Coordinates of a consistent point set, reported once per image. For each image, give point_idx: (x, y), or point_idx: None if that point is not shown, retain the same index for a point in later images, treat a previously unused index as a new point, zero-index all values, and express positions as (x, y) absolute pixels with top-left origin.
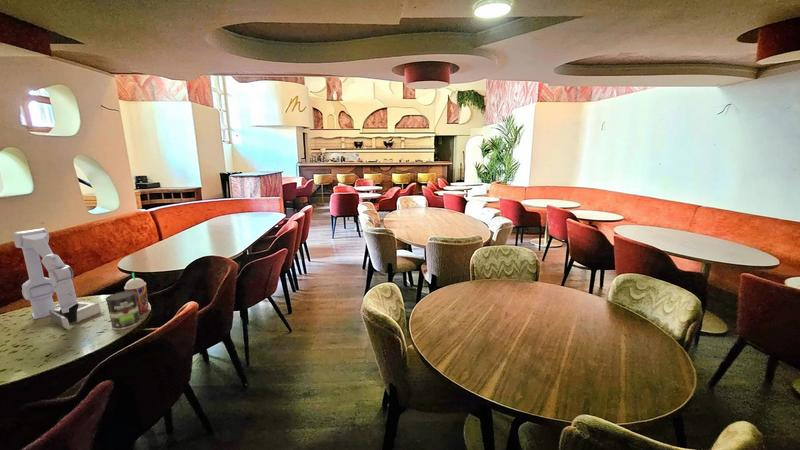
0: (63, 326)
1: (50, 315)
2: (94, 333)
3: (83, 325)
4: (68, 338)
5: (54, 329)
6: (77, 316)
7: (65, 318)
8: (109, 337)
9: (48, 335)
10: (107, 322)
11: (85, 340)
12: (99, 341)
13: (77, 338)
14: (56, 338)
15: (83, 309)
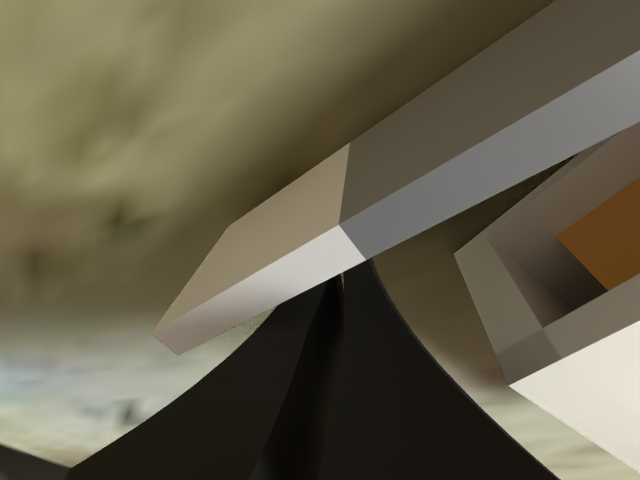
0: (334, 156)
1: None
2: (115, 393)
3: None
4: (47, 277)
5: (354, 14)
6: (482, 315)
7: (207, 326)
8: (55, 442)
9: (141, 26)
10: None
11: (19, 370)
12: (11, 418)
13: (46, 329)
14: (49, 177)
15: (594, 436)
